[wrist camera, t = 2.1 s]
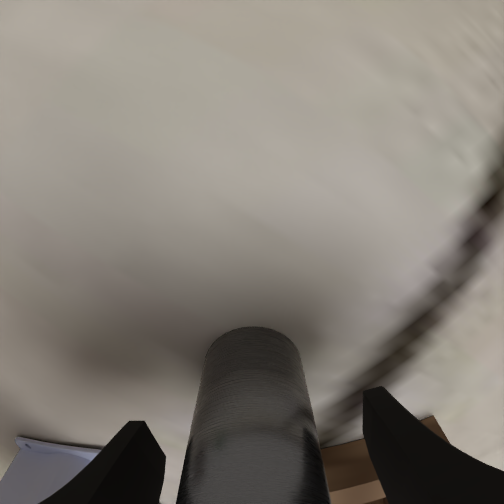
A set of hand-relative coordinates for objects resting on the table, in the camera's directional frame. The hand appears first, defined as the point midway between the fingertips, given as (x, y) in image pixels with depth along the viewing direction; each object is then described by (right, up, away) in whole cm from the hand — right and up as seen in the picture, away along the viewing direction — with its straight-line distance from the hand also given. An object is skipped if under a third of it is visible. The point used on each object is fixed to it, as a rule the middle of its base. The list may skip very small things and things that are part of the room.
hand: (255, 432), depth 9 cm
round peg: (0, +1, +4) cm, 4 cm away
